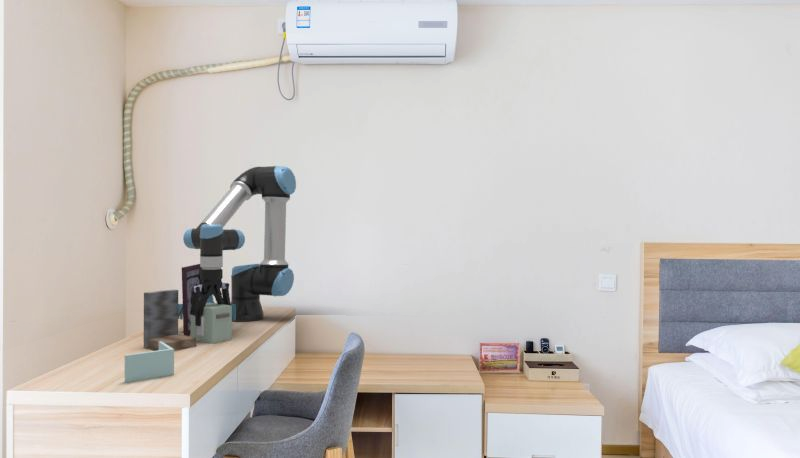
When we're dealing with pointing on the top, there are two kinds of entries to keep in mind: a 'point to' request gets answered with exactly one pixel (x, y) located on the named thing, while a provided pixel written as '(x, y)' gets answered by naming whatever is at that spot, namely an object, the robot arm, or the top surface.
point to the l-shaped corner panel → (150, 364)
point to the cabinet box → (214, 323)
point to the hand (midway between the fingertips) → (211, 332)
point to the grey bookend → (163, 321)
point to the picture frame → (189, 293)
